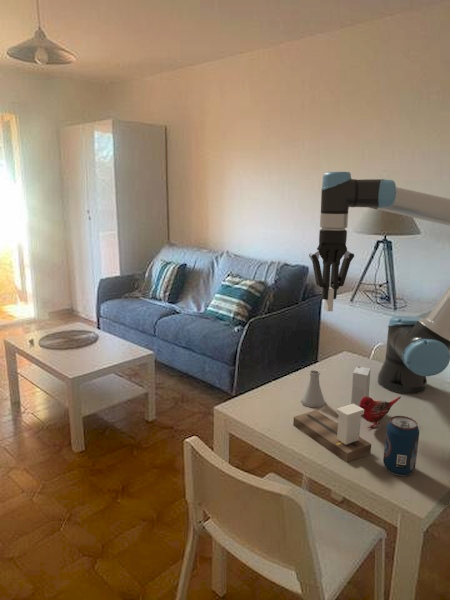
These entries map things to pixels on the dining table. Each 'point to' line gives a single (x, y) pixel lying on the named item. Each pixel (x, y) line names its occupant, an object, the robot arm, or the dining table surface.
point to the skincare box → (360, 384)
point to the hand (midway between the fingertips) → (328, 310)
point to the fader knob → (349, 423)
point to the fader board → (330, 436)
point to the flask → (313, 391)
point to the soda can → (401, 445)
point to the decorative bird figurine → (375, 409)
